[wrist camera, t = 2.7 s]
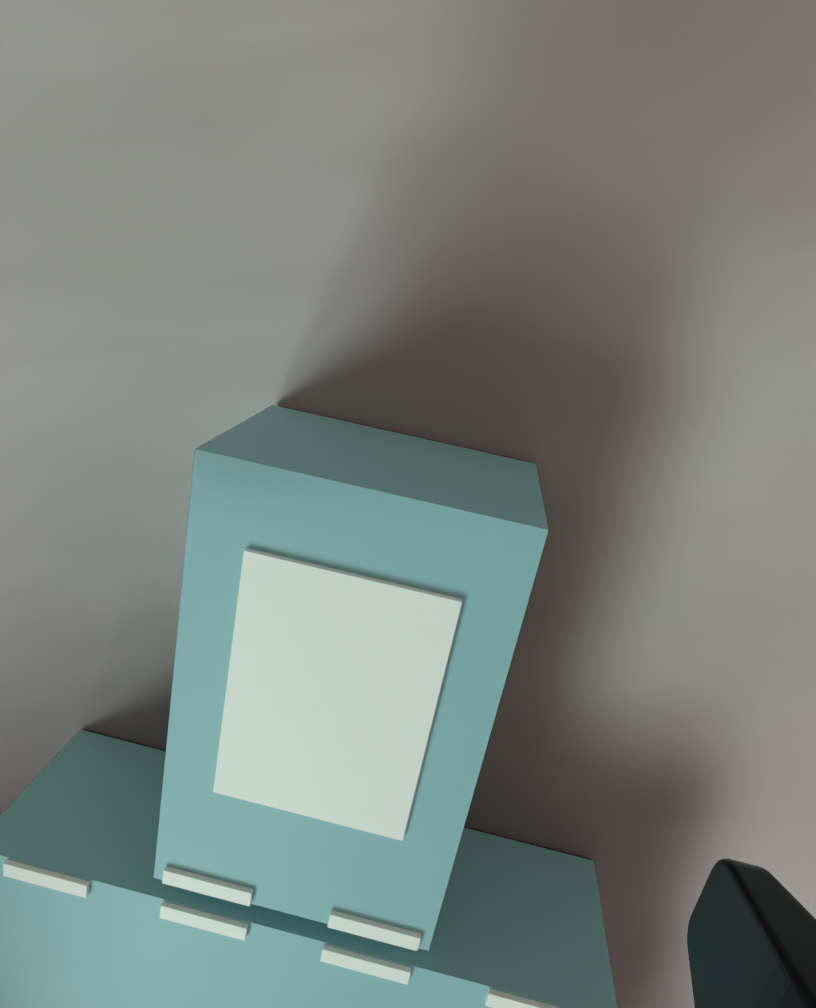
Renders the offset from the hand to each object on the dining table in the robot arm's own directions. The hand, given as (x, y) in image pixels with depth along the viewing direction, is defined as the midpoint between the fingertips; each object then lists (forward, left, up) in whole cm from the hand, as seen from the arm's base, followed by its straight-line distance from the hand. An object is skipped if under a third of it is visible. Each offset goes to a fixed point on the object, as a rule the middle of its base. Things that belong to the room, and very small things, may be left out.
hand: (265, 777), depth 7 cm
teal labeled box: (-2, 0, -7) cm, 7 cm away
